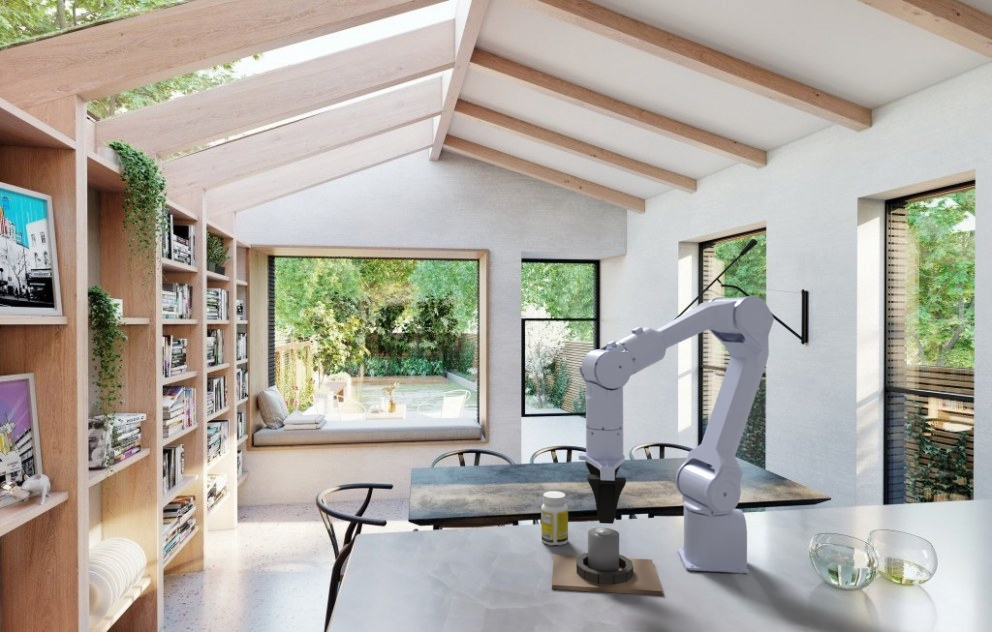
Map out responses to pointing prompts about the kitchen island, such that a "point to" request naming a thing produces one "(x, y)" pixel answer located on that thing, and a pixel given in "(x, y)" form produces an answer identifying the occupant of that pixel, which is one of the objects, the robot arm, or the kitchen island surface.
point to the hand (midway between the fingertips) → (604, 514)
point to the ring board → (605, 576)
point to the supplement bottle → (554, 518)
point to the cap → (603, 549)
